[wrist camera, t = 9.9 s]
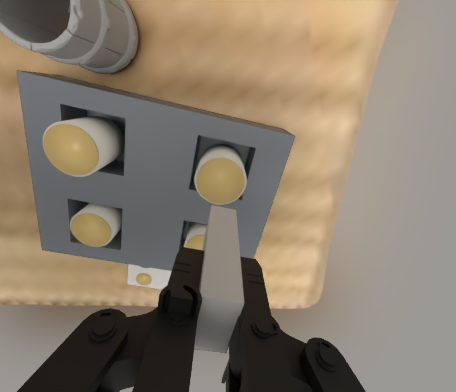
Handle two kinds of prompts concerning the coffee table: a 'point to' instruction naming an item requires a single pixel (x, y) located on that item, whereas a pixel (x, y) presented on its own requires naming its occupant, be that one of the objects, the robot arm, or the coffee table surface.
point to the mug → (73, 31)
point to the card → (148, 276)
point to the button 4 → (220, 175)
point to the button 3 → (195, 235)
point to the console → (145, 170)
